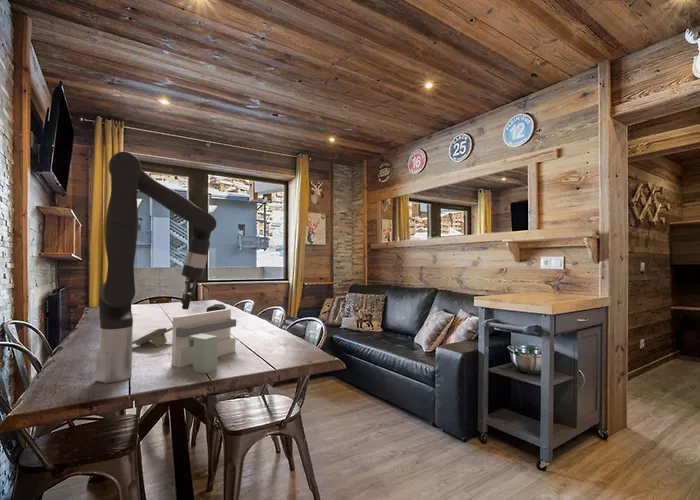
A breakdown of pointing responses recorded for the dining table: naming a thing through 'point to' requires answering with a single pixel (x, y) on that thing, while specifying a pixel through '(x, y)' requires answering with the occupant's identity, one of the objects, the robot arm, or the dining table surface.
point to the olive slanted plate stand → (154, 337)
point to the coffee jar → (216, 307)
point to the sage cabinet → (204, 352)
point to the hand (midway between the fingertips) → (184, 306)
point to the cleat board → (205, 324)
